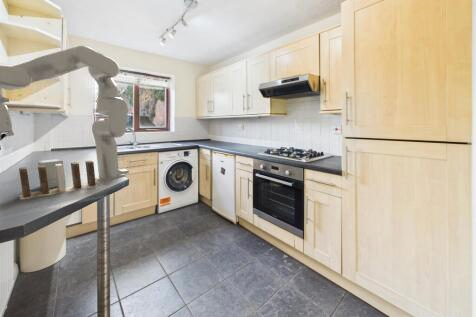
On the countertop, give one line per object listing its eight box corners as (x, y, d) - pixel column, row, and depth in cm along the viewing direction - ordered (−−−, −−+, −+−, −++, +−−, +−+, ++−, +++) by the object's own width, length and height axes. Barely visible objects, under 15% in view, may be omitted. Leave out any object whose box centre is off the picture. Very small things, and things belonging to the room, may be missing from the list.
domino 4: (92, 183, 106) (90, 160, 104) (95, 185, 102) (93, 161, 101) (87, 184, 104) (85, 161, 103) (90, 186, 101) (88, 162, 99)
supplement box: (60, 184, 108) (57, 158, 106) (66, 186, 104) (63, 160, 102) (41, 188, 102) (37, 160, 100) (46, 190, 98) (42, 162, 96)
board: (94, 184, 108) (94, 182, 108) (99, 188, 102) (99, 185, 102) (19, 197, 89) (19, 194, 89) (20, 202, 83) (20, 199, 83)
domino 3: (78, 185, 102) (76, 162, 100) (81, 188, 98) (78, 163, 97) (73, 186, 100) (70, 162, 99) (76, 188, 97) (73, 164, 95)
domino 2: (63, 188, 98) (60, 163, 96) (65, 190, 94) (62, 165, 93) (58, 189, 96) (54, 164, 95) (59, 191, 93) (56, 165, 91)
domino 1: (47, 191, 94) (44, 165, 92) (49, 193, 90) (45, 166, 89) (41, 192, 93) (37, 166, 91) (42, 194, 89) (38, 167, 87)
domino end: (29, 193, 90) (25, 167, 88) (30, 196, 86) (26, 168, 85) (23, 195, 89) (18, 167, 87) (23, 197, 85) (19, 169, 83)
